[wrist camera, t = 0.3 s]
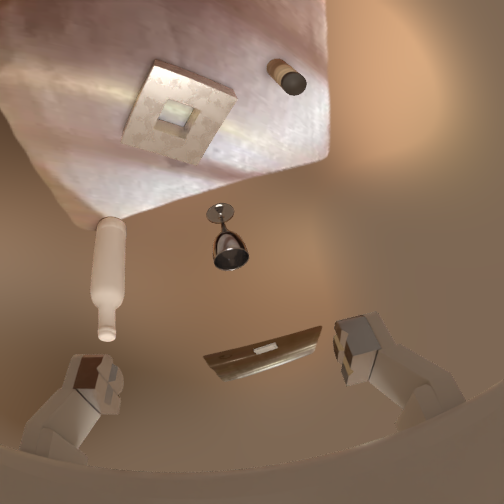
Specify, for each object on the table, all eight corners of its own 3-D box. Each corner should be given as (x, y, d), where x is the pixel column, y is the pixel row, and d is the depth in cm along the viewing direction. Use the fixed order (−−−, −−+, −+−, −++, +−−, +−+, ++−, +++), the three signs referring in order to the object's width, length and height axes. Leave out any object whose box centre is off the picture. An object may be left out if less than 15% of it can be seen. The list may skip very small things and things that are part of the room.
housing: (155, 58, 42) (154, 65, 39) (232, 89, 51) (237, 98, 48) (123, 130, 52) (120, 143, 49) (194, 152, 61) (196, 165, 58)
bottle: (112, 211, 67) (105, 326, 49) (132, 228, 73) (134, 339, 55) (90, 226, 68) (80, 337, 50) (110, 242, 74) (108, 349, 56)
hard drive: (257, 354, 167) (278, 348, 166) (253, 351, 160) (275, 344, 160) (256, 352, 168) (277, 345, 167) (253, 348, 161) (274, 341, 161)
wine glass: (203, 225, 78) (212, 271, 69) (206, 201, 72) (216, 249, 63) (232, 224, 81) (245, 269, 72) (238, 201, 75) (252, 247, 66)
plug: (262, 64, 48) (279, 81, 42) (281, 55, 47) (300, 70, 41) (272, 80, 51) (289, 99, 45) (290, 71, 50) (310, 88, 44)
